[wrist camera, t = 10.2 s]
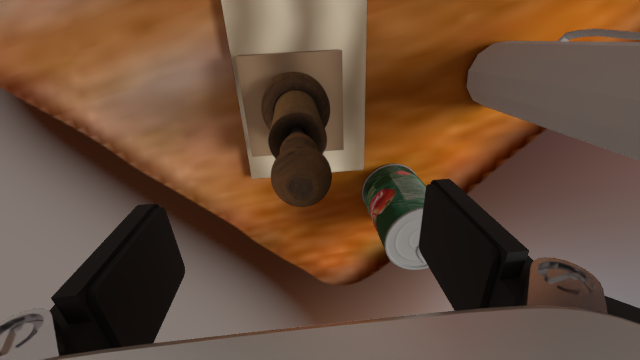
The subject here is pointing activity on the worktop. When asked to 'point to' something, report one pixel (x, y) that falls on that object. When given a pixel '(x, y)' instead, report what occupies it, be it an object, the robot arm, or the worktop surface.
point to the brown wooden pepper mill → (297, 137)
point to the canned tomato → (397, 212)
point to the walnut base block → (268, 66)
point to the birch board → (306, 35)
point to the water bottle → (566, 86)
